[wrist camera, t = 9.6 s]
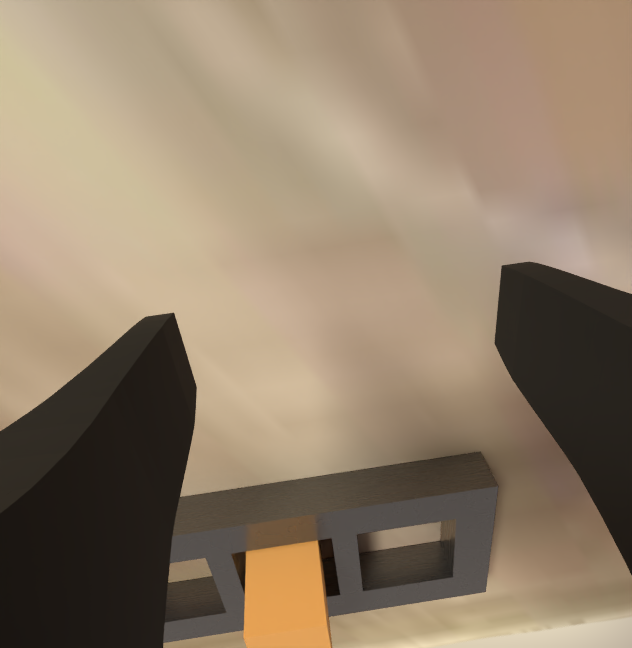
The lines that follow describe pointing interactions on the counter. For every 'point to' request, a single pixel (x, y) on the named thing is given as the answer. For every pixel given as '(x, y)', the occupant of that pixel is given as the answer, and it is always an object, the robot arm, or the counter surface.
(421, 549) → the gray board with holes
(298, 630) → the square block
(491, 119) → the counter surface
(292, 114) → the counter surface
